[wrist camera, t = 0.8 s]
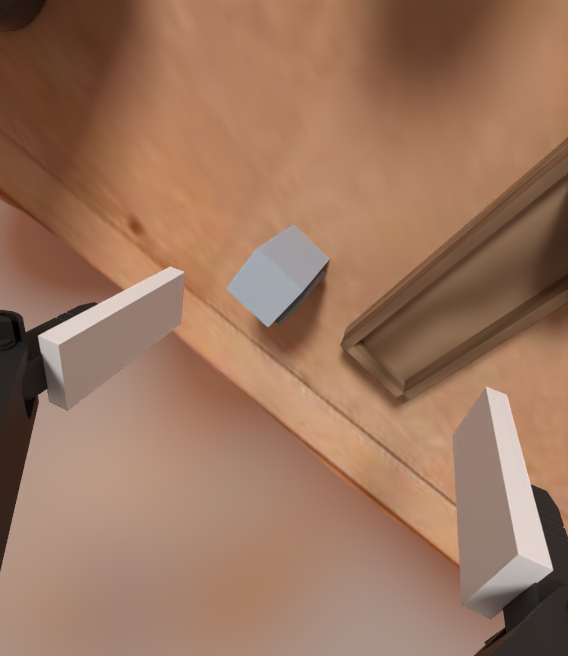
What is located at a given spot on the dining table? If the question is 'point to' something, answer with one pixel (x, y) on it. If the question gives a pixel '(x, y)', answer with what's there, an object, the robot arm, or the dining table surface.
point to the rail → (472, 287)
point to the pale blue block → (279, 276)
